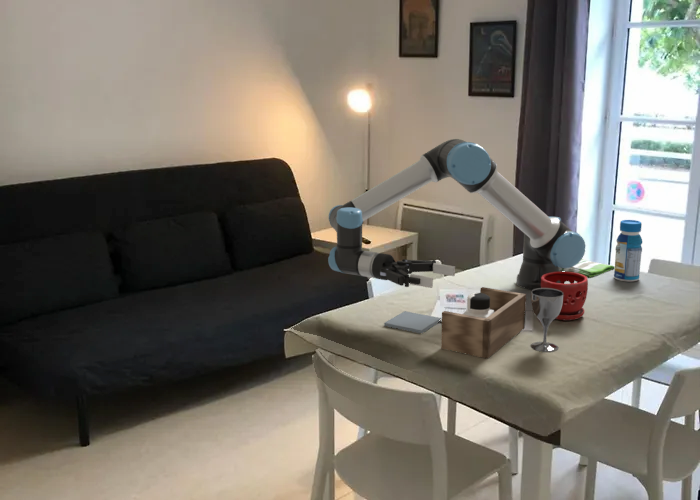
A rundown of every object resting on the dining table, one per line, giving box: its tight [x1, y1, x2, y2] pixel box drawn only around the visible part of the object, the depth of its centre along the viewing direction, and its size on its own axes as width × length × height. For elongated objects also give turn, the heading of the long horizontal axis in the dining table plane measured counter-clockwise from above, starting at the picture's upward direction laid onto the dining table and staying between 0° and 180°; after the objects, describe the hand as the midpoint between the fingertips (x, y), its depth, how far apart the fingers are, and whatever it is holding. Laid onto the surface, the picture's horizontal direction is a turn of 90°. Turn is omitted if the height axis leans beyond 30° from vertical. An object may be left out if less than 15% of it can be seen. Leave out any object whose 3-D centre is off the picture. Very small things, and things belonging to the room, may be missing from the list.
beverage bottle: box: [613, 219, 643, 283], centre depth 251 cm, size 8×8×20 cm
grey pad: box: [383, 310, 442, 334], centre depth 213 cm, size 12×12×1 cm
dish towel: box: [560, 258, 615, 279], centre depth 268 cm, size 17×23×4 cm
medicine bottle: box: [462, 292, 494, 318], centre depth 201 cm, size 7×7×12 cm
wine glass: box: [530, 288, 563, 353], centre depth 192 cm, size 8×8×15 cm
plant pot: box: [541, 271, 589, 321], centre depth 216 cm, size 13×13×12 cm
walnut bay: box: [440, 286, 527, 359], centre depth 200 cm, size 13×26×10 cm, turn 147°
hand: (443, 276), depth 203 cm, fingers open, 13 cm apart
